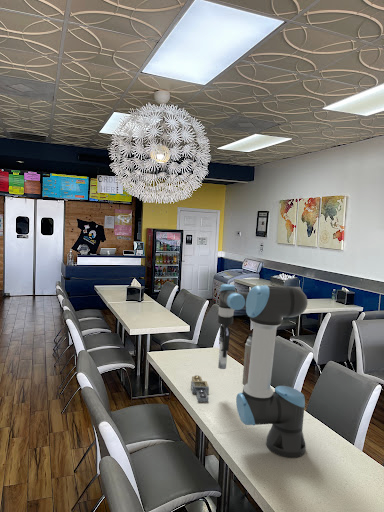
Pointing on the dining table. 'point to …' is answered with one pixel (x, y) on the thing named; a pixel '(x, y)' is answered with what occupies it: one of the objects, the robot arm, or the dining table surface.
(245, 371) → the thermos bottle
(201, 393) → the chain ends
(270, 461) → the dining table surface
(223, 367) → the pin
